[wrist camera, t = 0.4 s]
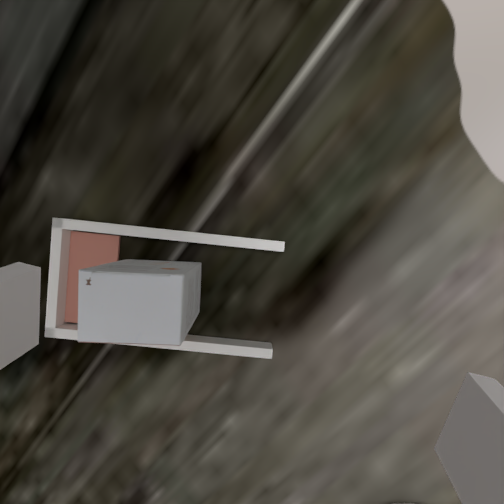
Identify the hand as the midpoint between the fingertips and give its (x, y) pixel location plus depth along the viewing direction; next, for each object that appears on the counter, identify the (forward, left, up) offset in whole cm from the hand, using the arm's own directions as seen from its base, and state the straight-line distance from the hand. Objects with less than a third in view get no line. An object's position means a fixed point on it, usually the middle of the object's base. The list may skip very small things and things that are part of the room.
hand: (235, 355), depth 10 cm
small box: (+3, -8, -25) cm, 26 cm away
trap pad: (+3, -16, -25) cm, 29 cm away
